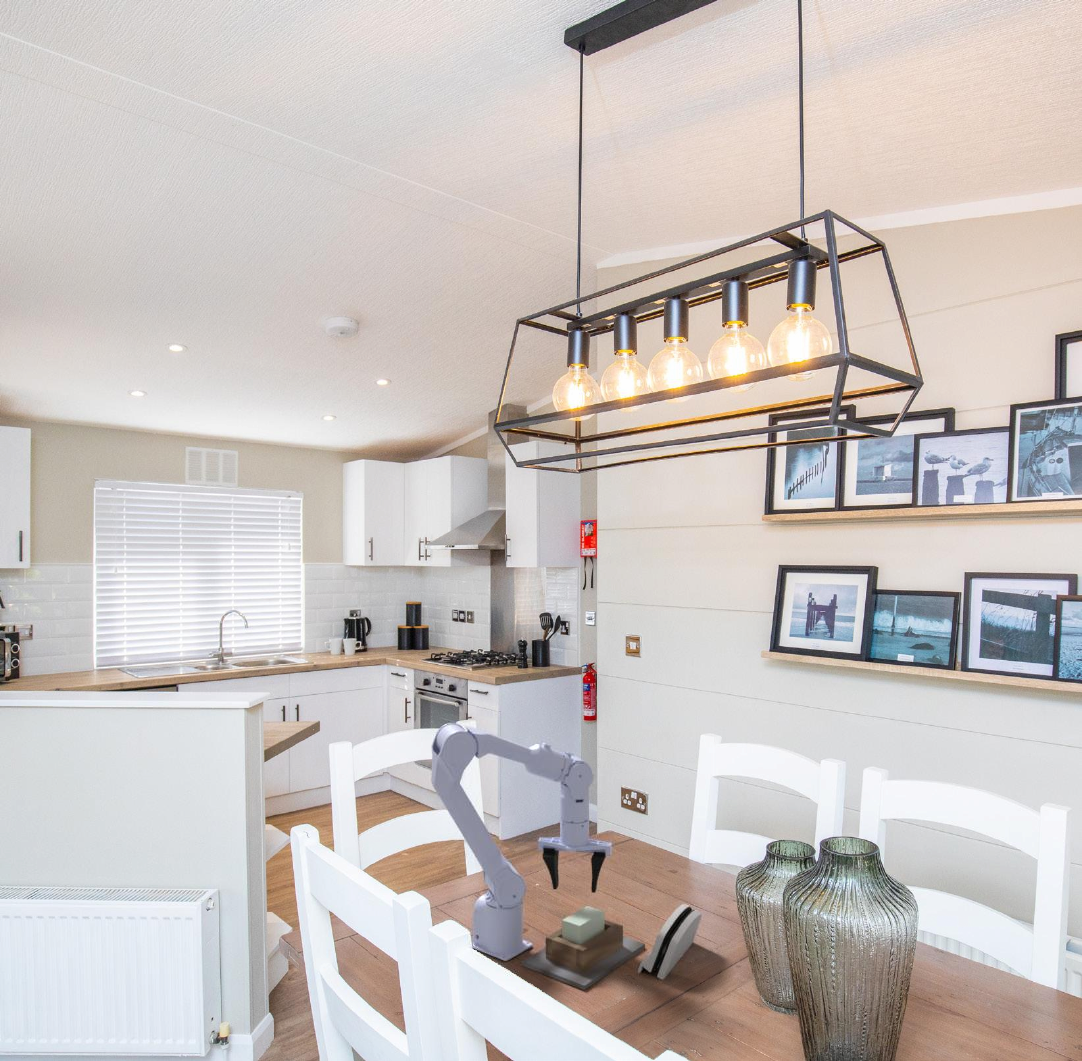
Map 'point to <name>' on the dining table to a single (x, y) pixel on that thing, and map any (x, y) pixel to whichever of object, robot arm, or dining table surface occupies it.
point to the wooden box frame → (584, 956)
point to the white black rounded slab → (672, 941)
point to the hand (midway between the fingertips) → (574, 889)
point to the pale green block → (583, 925)
